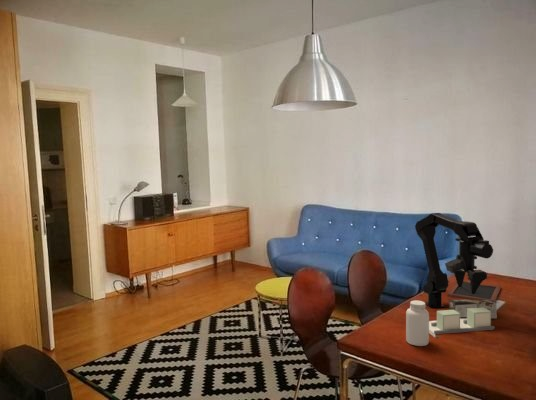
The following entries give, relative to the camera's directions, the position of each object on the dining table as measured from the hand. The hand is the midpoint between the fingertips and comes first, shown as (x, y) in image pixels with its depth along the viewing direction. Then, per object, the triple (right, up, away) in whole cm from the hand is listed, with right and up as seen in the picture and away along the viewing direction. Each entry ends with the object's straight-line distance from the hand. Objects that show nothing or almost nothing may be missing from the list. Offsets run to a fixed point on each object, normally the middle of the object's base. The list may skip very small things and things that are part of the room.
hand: (466, 290), depth 173 cm
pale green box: (-12, -13, -10) cm, 20 cm away
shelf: (-8, -14, -8) cm, 17 cm away
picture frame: (+21, -9, +35) cm, 42 cm away
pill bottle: (-26, -15, -18) cm, 35 cm away
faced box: (+1, -12, -9) cm, 15 cm away
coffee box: (+12, -8, +2) cm, 15 cm away
